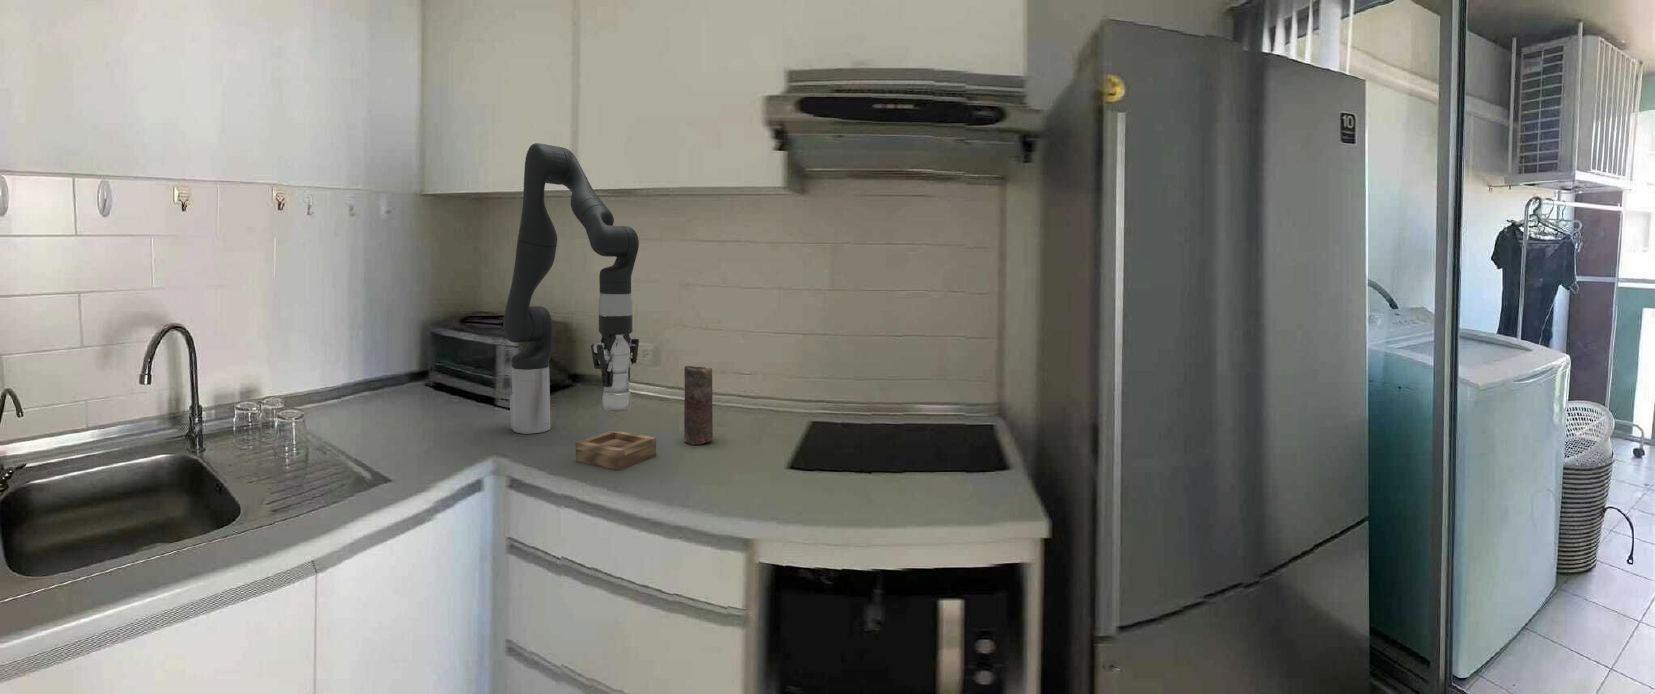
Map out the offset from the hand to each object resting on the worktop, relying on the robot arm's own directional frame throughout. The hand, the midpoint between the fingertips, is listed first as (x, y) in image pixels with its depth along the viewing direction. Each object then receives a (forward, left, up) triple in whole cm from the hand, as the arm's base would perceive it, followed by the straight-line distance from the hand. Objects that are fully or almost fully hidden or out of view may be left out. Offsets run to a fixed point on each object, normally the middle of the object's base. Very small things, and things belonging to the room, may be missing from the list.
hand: (616, 384), depth 164 cm
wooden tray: (0, 0, -18) cm, 18 cm away
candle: (+8, +22, -18) cm, 30 cm away
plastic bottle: (0, 0, -7) cm, 7 cm away
